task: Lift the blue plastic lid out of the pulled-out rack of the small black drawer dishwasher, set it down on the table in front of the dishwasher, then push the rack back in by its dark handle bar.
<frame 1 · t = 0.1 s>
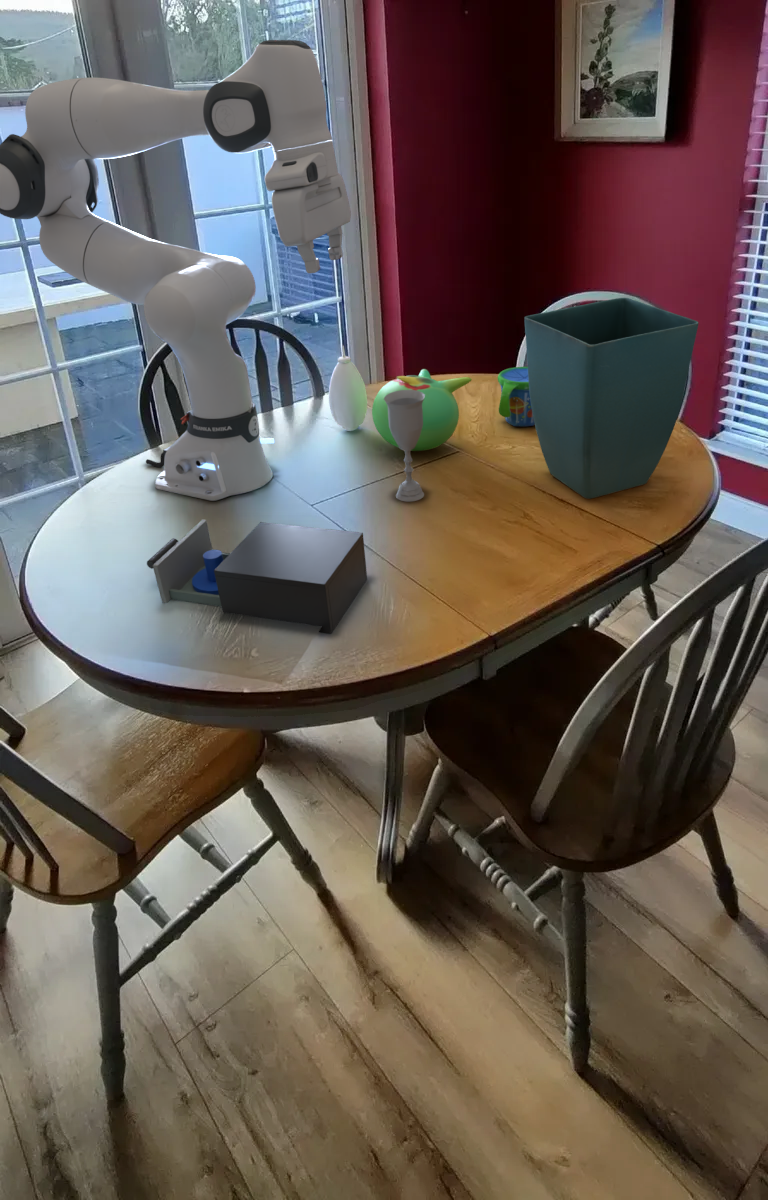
hand: (325, 265, 130), 39 cm above the table, tool pointing down, fingers open, 8 cm apart
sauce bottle: (351, 430, 176), on the table
rack: (220, 566, 123), point 4 cm above the table, slide at 9.0 cm, touching lid
snack cup: (523, 422, 173), on the table
toy bird: (419, 446, 166), on the table
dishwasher: (297, 598, 121), on the table
chalice: (410, 496, 147), on the table
flower pot: (595, 481, 147), on the table
lid: (218, 581, 124), point 1 cm above the table, touching rack
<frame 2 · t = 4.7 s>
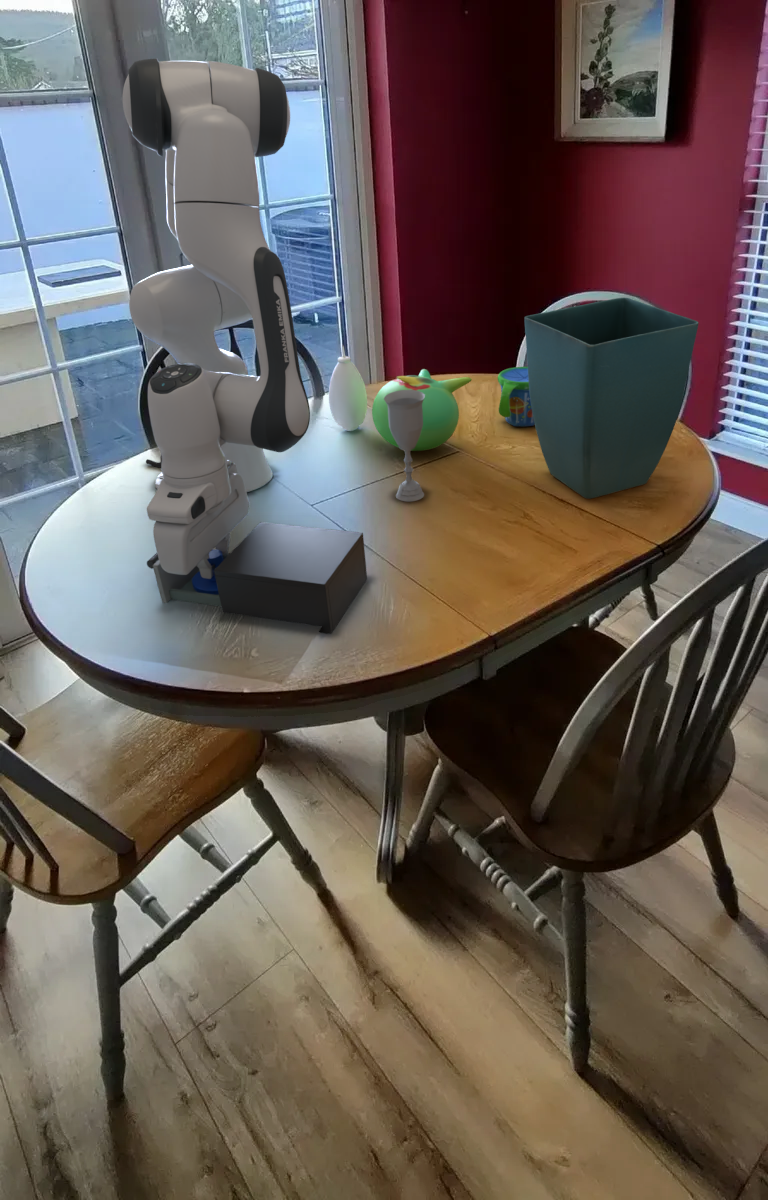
hand: (215, 569, 123), 3 cm above the table, tool pointing down, fingers closed on lid, 3 cm apart
lid: (218, 581, 125), point 1 cm above the table, touching gripper, rack
everything else where it was.
when the fingers open (2 cm above the table, at t = 11.8 s): lid stays where it is, on the table.
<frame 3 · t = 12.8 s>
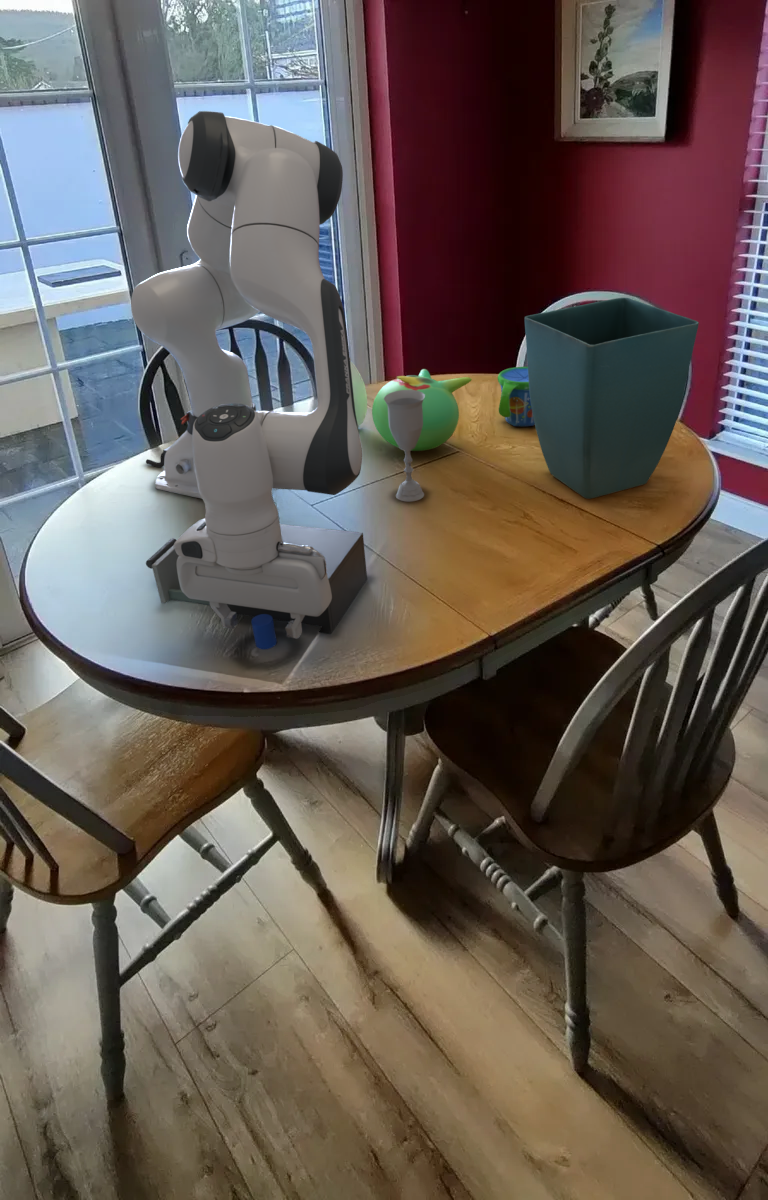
hand: (262, 630, 109), 3 cm above the table, tool pointing down, fingers open, 8 cm apart
rack: (219, 566, 123), point 4 cm above the table, slide at 9.2 cm
lid: (267, 649, 111), on the table
everything else where it was.
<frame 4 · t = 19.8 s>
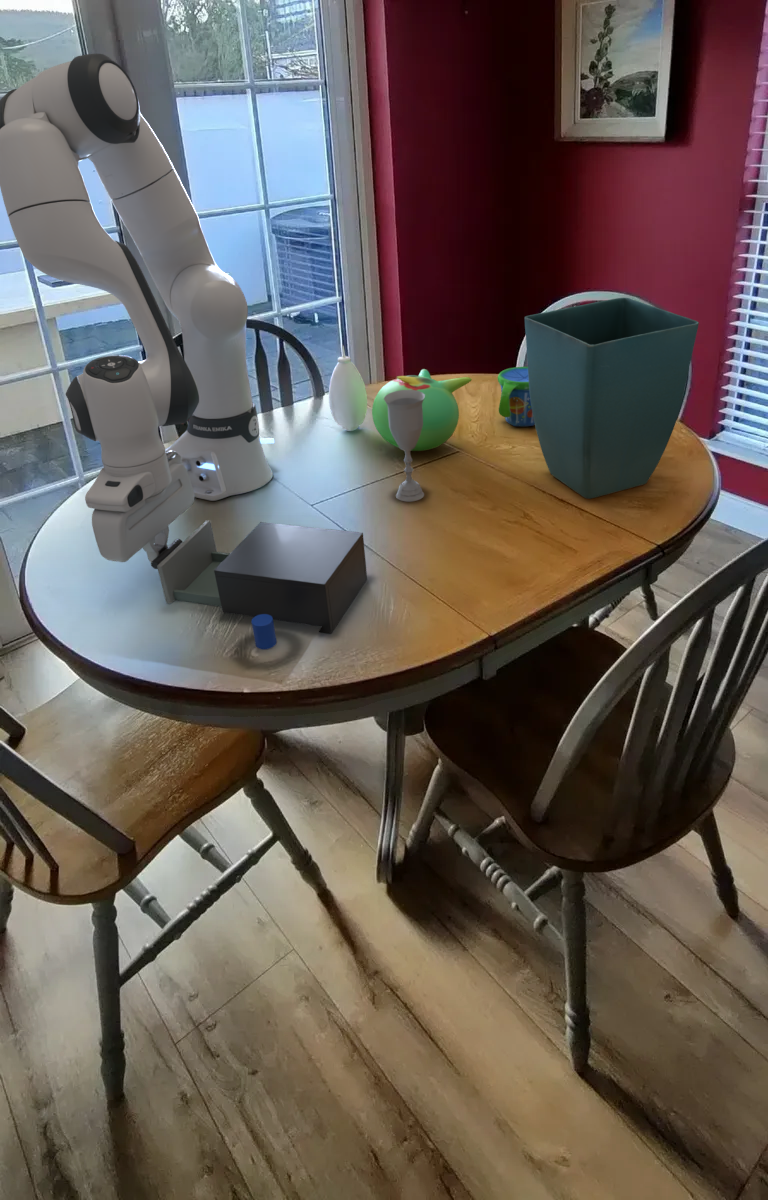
hand: (159, 557, 126), 4 cm above the table, tool pointing down, fingers closed, pressing on rack
rack: (224, 566, 122), point 4 cm above the table, slide at 8.3 cm, touching gripper
everything else where it was.
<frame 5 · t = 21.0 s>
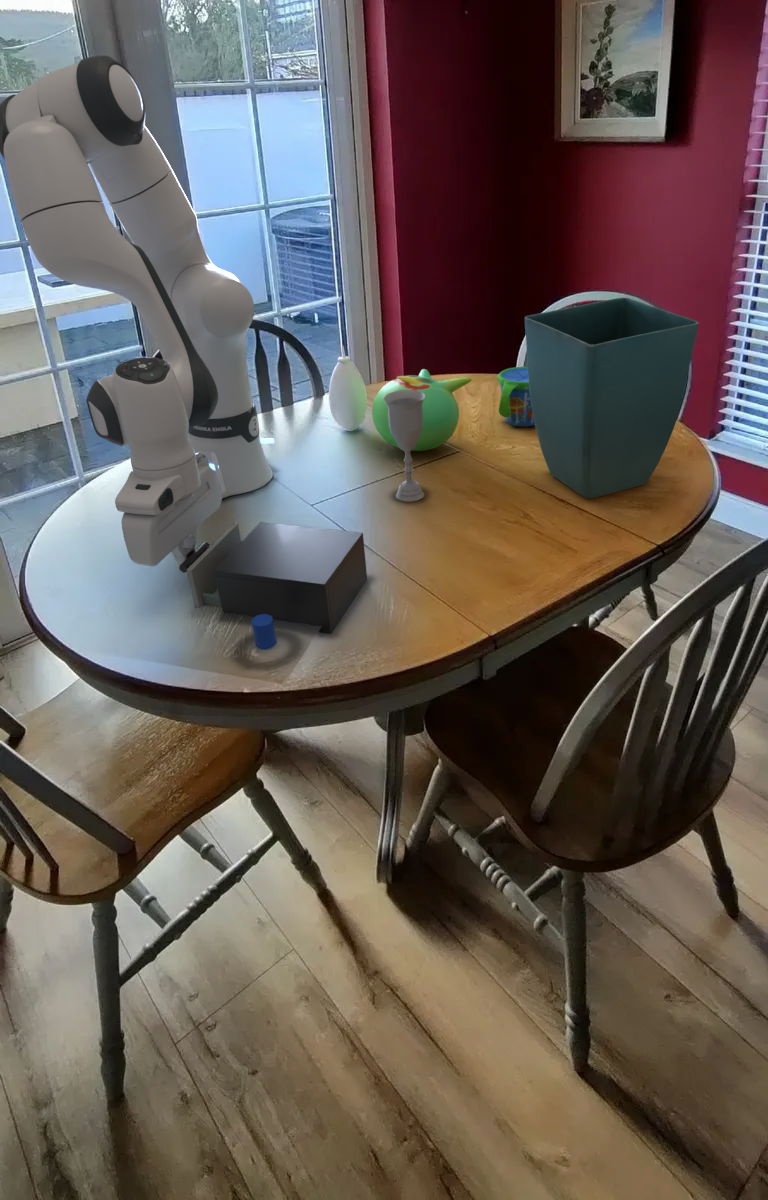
hand: (186, 561, 124), 4 cm above the table, tool pointing down, fingers closed, pressing on rack
rack: (253, 570, 121), point 4 cm above the table, slide at 3.5 cm, touching gripper
everything else where it was.
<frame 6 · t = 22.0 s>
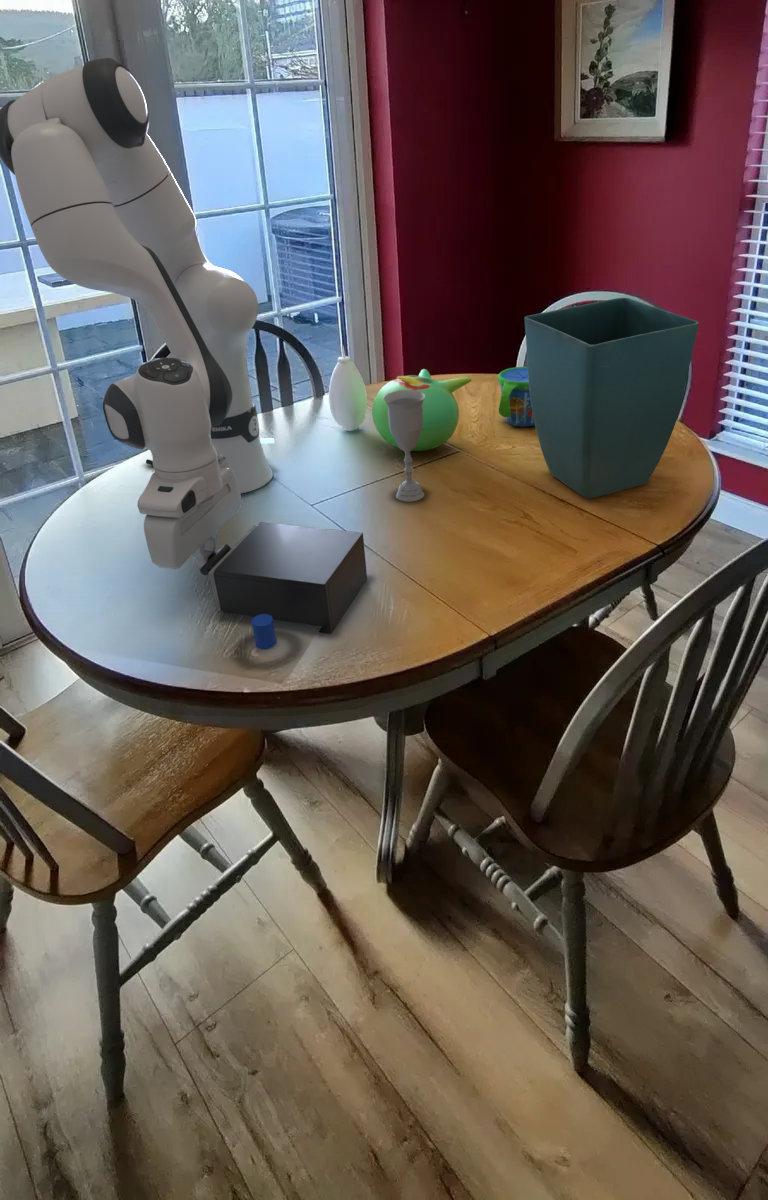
hand: (207, 563, 123), 4 cm above the table, tool pointing down, fingers closed, pressing on rack
rack: (275, 572, 120), point 4 cm above the table, slide at 0.0 cm, touching gripper
everything else where it was.
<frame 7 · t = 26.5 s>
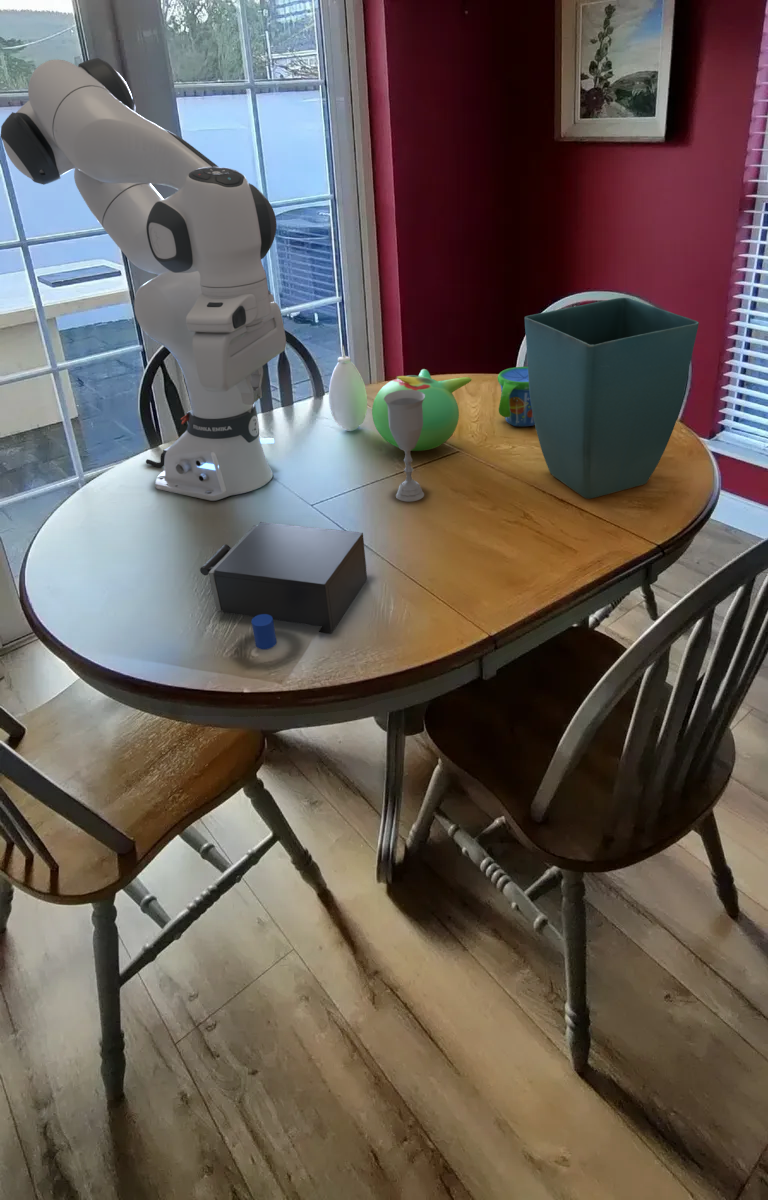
hand: (252, 401, 120), 25 cm above the table, tool pointing down, fingers closed
rack: (275, 572, 120), point 4 cm above the table, slide at 0.0 cm
everything else where it was.
at the end: lid inside the target area (0.2 cm from its centre), on the table; lid tilted 0°; rack slide at 0.0 cm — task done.
